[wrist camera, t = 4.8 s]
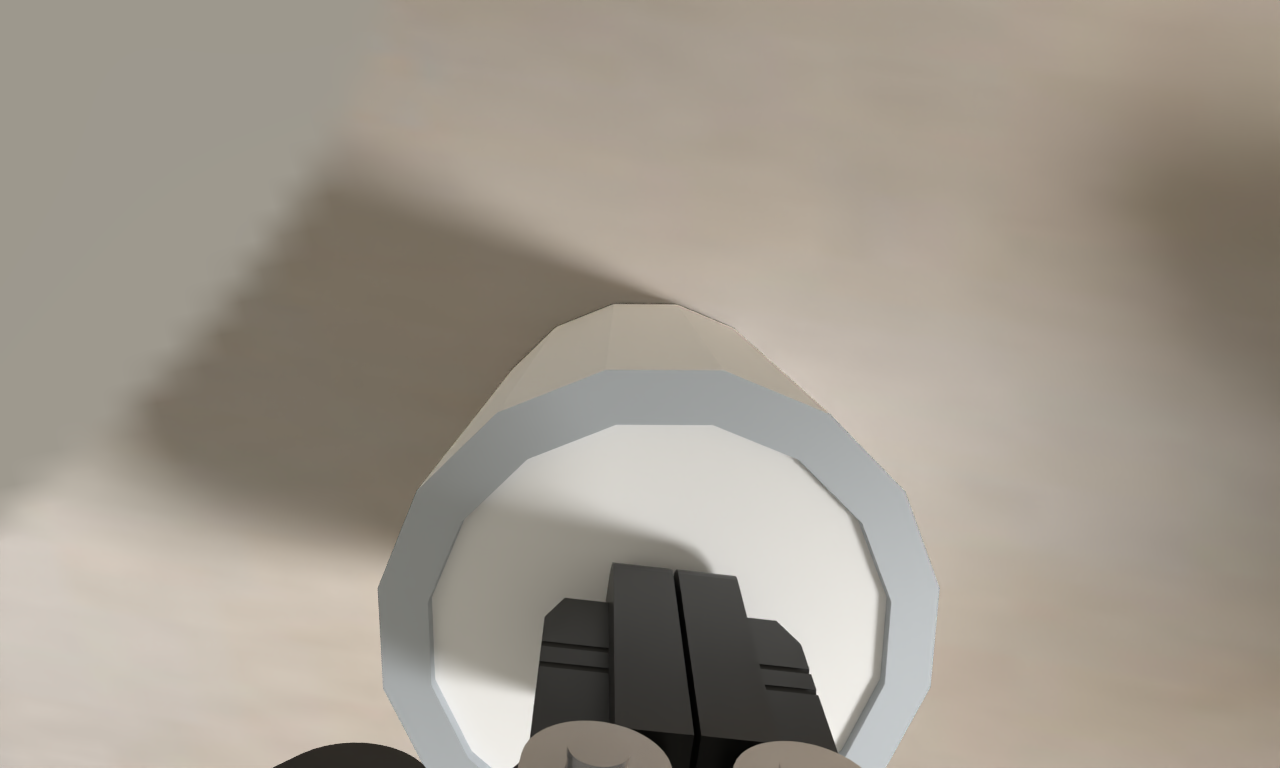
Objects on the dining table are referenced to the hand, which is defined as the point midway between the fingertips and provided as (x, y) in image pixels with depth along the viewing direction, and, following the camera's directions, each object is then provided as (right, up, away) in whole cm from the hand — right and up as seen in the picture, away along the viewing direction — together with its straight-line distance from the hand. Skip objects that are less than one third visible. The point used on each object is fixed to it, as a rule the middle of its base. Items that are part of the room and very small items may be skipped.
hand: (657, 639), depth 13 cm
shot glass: (0, +2, +7) cm, 7 cm away
